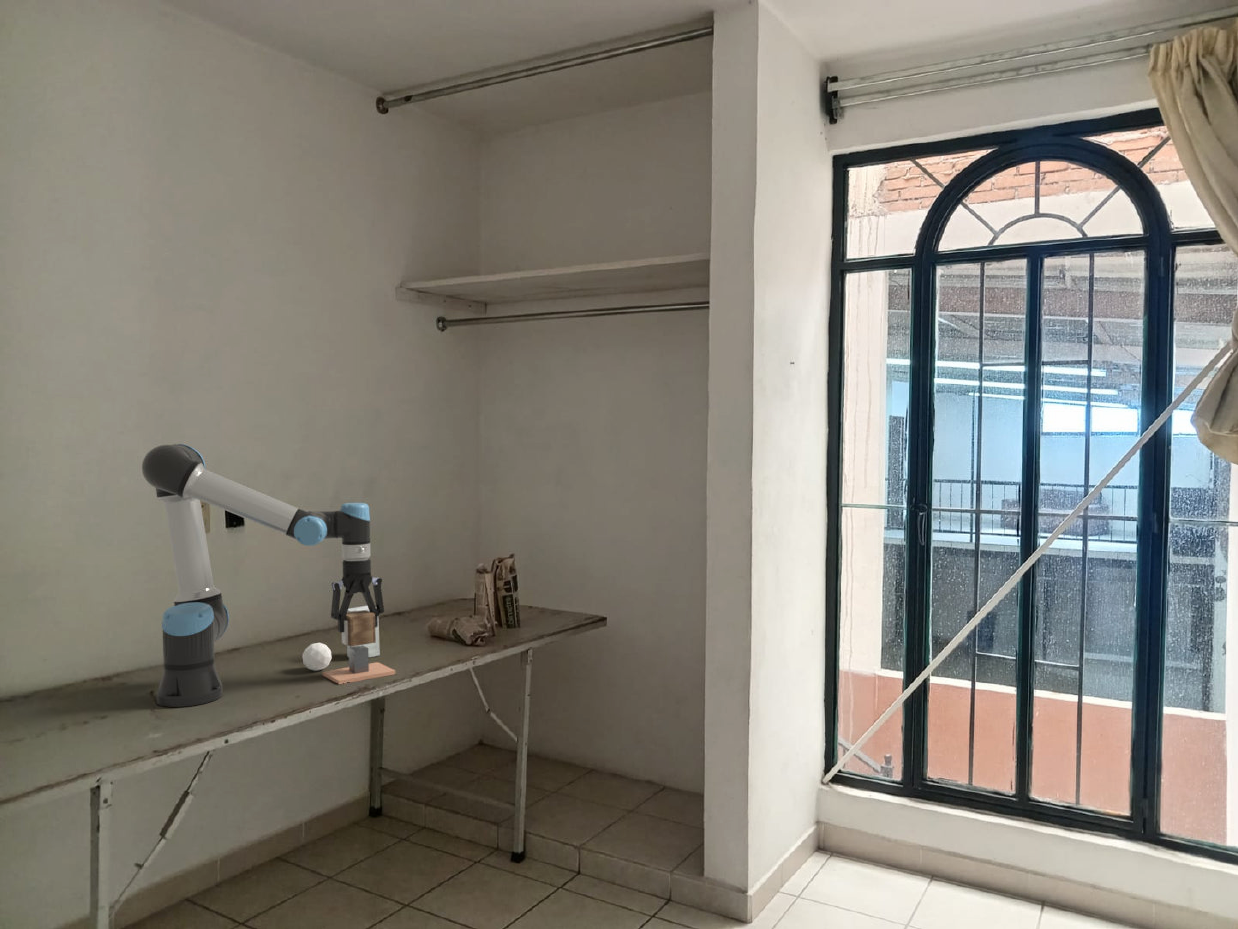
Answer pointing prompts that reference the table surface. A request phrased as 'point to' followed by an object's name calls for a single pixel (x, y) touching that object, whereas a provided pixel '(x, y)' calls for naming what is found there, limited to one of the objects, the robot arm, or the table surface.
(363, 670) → the post
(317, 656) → the ball
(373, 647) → the skincare box
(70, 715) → the table surface
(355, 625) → the cardboard carton
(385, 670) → the base plate
